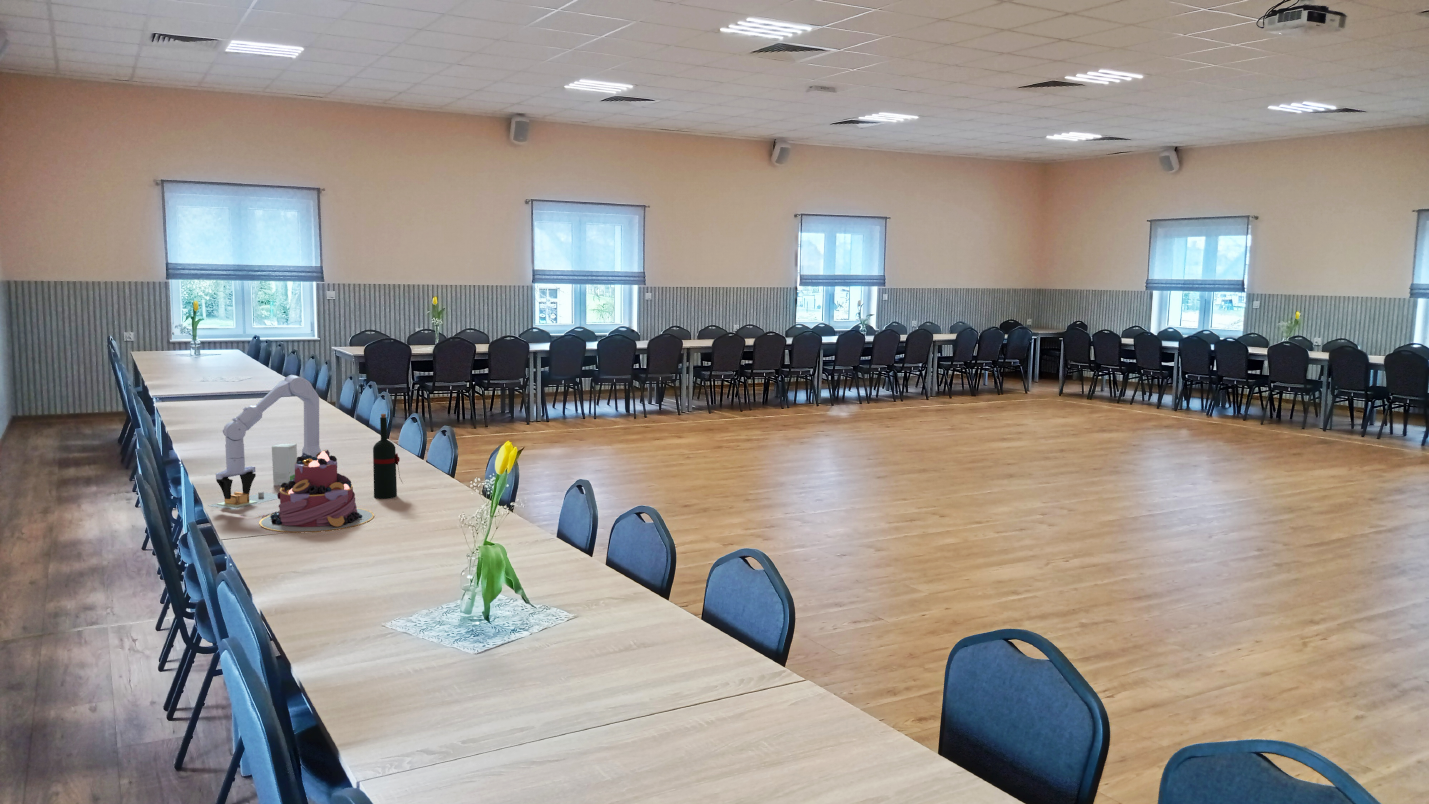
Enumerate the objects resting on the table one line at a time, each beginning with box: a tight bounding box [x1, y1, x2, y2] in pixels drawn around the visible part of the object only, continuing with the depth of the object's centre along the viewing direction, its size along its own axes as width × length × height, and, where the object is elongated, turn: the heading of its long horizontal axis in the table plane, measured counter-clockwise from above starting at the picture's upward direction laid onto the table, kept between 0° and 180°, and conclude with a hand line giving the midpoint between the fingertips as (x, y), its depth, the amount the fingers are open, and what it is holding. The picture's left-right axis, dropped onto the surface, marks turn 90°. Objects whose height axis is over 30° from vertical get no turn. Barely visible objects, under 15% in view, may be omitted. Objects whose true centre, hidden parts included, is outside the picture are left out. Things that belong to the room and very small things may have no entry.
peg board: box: [207, 491, 279, 510], centre depth 355 cm, size 12×24×3 cm, turn 156°
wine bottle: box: [372, 413, 404, 500], centre depth 367 cm, size 8×10×30 cm
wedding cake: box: [258, 449, 375, 534], centre depth 333 cm, size 35×35×23 cm
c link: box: [223, 491, 250, 505], centre depth 350 cm, size 6×5×3 cm
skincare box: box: [271, 443, 298, 487], centre depth 383 cm, size 8×7×16 cm
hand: (237, 496), depth 350 cm, fingers open, 7 cm apart
